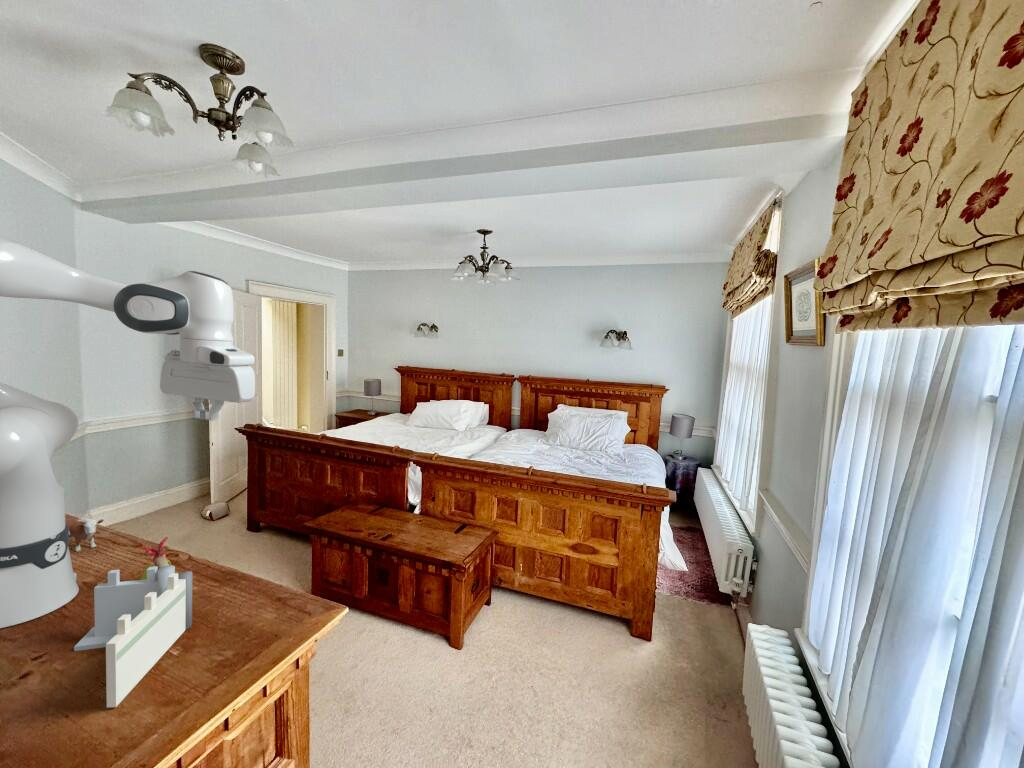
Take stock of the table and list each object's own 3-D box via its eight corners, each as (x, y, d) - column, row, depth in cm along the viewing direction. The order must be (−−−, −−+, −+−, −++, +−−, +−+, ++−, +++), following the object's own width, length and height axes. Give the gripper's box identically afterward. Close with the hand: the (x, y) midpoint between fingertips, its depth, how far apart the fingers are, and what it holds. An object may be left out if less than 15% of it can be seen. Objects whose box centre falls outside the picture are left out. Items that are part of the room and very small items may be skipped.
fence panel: (182, 622, 77) (183, 561, 75) (194, 622, 77) (194, 561, 76) (103, 707, 59) (102, 629, 58) (119, 706, 59) (118, 628, 58)
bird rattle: (185, 593, 88) (169, 564, 92) (194, 556, 85) (177, 527, 89) (148, 608, 83) (133, 576, 87) (156, 569, 80) (140, 538, 84)
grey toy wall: (74, 651, 69) (72, 582, 67) (93, 630, 73) (92, 566, 72) (167, 638, 73) (167, 573, 72) (180, 620, 78) (180, 559, 76)
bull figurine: (88, 557, 95) (87, 524, 94) (45, 547, 98) (44, 515, 97) (109, 548, 99) (109, 517, 98) (68, 539, 102) (67, 508, 101)
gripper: (150, 349, 82) (150, 415, 84) (235, 357, 79) (234, 427, 80) (181, 349, 89) (180, 411, 90) (261, 357, 85) (259, 422, 86)
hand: (206, 419), depth 85 cm, fingers closed
